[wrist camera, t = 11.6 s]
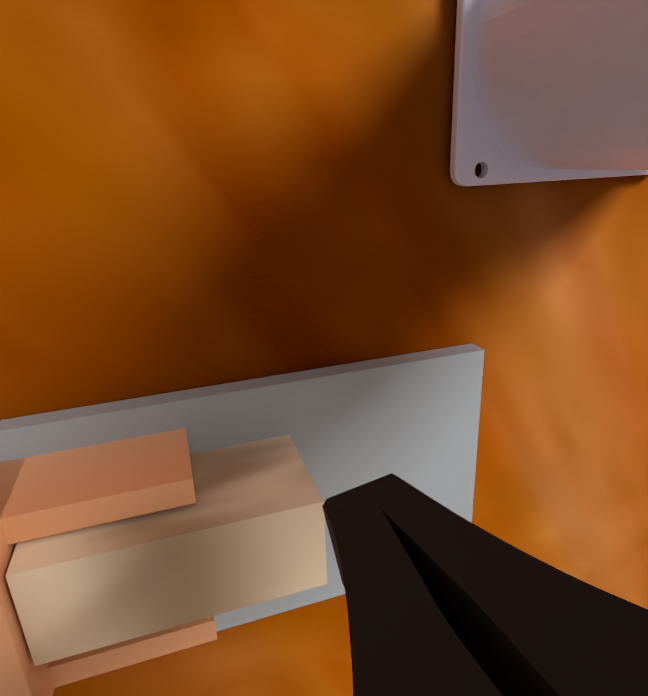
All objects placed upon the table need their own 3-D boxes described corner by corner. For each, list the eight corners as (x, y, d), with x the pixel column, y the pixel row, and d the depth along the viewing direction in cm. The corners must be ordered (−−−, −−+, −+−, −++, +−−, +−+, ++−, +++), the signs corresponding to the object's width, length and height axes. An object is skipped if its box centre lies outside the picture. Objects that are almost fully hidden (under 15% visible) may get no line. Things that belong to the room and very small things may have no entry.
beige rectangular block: (289, 434, 18) (323, 501, 14) (294, 504, 19) (327, 583, 15) (38, 482, 16) (5, 576, 12) (59, 559, 17) (34, 666, 13)
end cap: (185, 428, 17) (196, 509, 13) (207, 571, 19) (223, 679, 15) (-4, 462, 15) (-58, 567, 11) (43, 614, 17) (11, 747, 13)
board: (472, 343, 20) (484, 349, 19) (459, 545, 24) (468, 557, 23) (-15, 422, 15) (-23, 434, 15) (59, 659, 19) (55, 678, 18)
